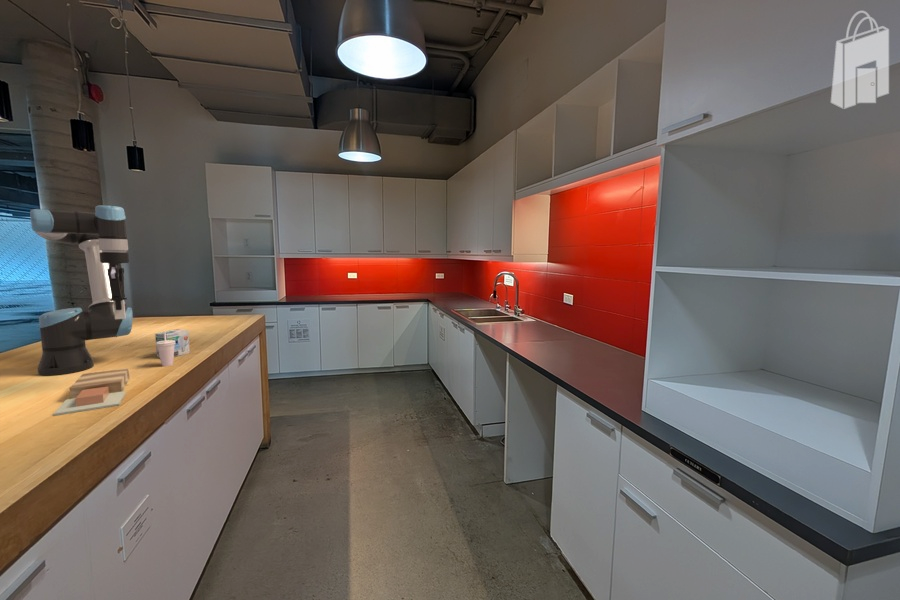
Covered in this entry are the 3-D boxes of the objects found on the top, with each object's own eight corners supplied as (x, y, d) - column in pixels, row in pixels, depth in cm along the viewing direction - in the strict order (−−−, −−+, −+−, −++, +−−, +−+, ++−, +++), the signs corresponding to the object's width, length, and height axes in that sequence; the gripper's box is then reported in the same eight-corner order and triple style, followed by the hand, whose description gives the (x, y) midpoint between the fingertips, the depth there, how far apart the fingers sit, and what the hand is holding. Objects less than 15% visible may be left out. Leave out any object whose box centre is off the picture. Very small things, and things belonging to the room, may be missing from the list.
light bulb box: (168, 359, 161) (166, 334, 159) (156, 357, 162) (154, 333, 161) (190, 352, 171) (189, 329, 170) (178, 351, 173) (177, 328, 171)
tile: (83, 397, 117) (82, 389, 117) (108, 393, 120) (108, 386, 120) (76, 406, 110) (75, 398, 110) (103, 402, 114) (102, 394, 113)
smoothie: (155, 368, 148) (153, 333, 147) (159, 363, 154) (156, 330, 152) (175, 366, 151) (173, 332, 150) (178, 361, 157) (176, 329, 155)
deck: (84, 384, 129) (82, 373, 129) (129, 379, 136) (128, 368, 135) (70, 400, 116) (69, 388, 115) (121, 393, 122) (120, 381, 122)
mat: (66, 401, 115) (66, 399, 115) (125, 392, 123) (125, 390, 123) (53, 415, 105) (53, 413, 105) (119, 405, 113) (119, 403, 113)
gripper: (103, 251, 133) (110, 316, 136) (94, 251, 122) (102, 322, 125) (131, 251, 137) (136, 315, 140) (125, 252, 126) (131, 320, 129)
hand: (120, 318), depth 132 cm, fingers closed
